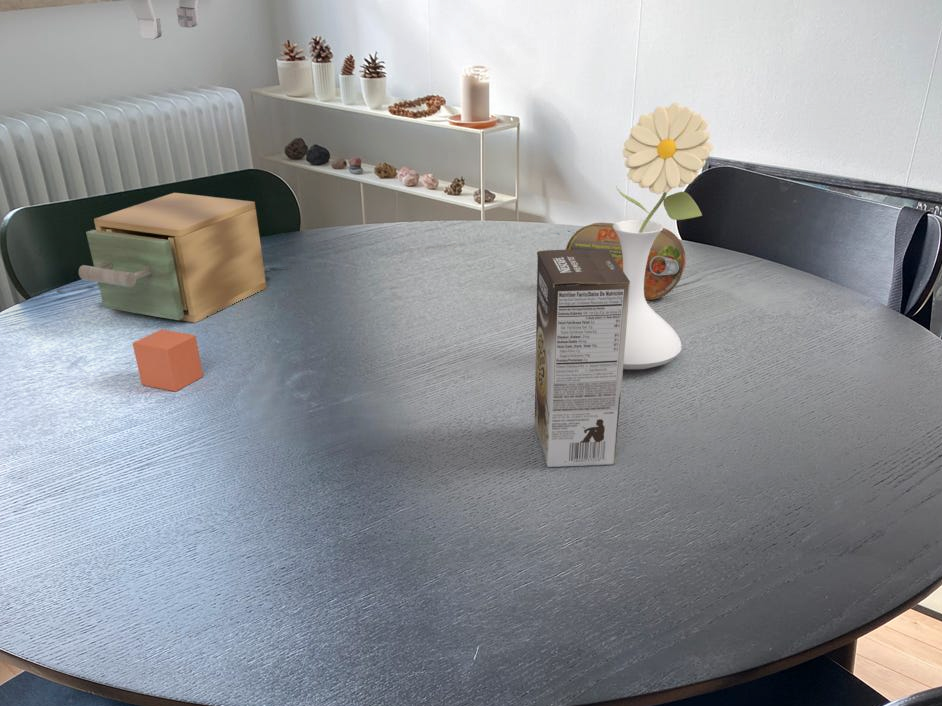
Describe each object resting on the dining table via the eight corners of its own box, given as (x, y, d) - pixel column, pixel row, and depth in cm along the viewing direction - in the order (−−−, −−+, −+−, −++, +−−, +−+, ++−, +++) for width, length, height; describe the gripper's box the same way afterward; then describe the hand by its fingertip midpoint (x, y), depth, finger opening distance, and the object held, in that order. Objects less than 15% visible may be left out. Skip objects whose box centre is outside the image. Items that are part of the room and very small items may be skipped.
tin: (562, 291, 126) (565, 221, 121) (569, 284, 128) (572, 215, 123) (678, 304, 121) (685, 232, 116) (683, 296, 124) (691, 226, 119)
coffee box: (531, 425, 93) (535, 249, 84) (598, 422, 94) (610, 246, 84) (544, 469, 86) (550, 281, 76) (617, 465, 86) (632, 278, 77)
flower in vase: (552, 361, 106) (562, 101, 91) (615, 333, 113) (634, 87, 98) (652, 393, 99) (680, 116, 84) (713, 361, 106) (749, 100, 91)
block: (175, 392, 101) (167, 349, 98) (141, 385, 102) (131, 342, 100) (203, 376, 104) (195, 334, 101) (169, 370, 105) (161, 328, 103)
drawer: (151, 332, 112) (135, 253, 107) (76, 319, 116) (56, 241, 111) (246, 287, 125) (236, 214, 120) (175, 277, 129) (162, 206, 124)
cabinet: (195, 323, 117) (178, 229, 111) (114, 309, 122) (93, 218, 116) (266, 288, 128) (255, 201, 122) (189, 276, 132) (174, 192, 126)
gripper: (165, -131, 107) (183, 18, 116) (70, -129, 92) (99, 42, 100) (220, -127, 107) (234, 22, 115) (133, -125, 91) (157, 48, 100)
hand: (170, 32), depth 108 cm, fingers open, 8 cm apart
